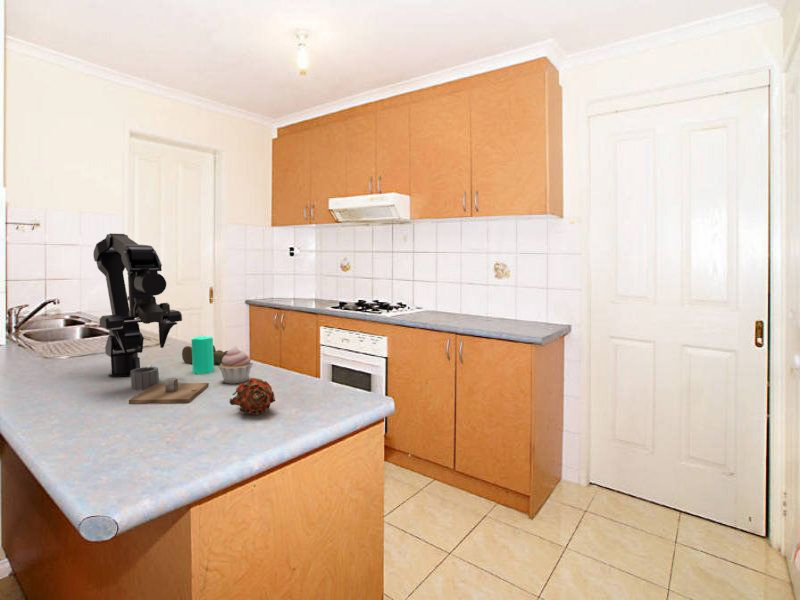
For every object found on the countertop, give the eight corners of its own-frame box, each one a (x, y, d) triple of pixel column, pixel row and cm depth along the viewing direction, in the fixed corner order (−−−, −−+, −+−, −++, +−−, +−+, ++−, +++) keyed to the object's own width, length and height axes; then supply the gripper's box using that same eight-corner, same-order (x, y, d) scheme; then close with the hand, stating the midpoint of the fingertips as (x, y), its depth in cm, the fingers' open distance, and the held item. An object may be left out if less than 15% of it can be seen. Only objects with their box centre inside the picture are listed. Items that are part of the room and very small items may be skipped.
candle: (206, 374, 137) (204, 335, 136) (188, 373, 139) (186, 334, 137) (218, 369, 143) (216, 331, 142) (200, 368, 144) (199, 330, 143)
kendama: (216, 370, 144) (174, 361, 153) (239, 365, 153) (198, 356, 162) (216, 352, 144) (174, 344, 153) (240, 347, 152) (198, 340, 161)
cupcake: (260, 380, 131) (259, 346, 130) (230, 387, 124) (229, 351, 123) (242, 374, 137) (241, 341, 136) (212, 381, 130) (211, 346, 129)
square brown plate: (128, 403, 111) (128, 387, 110) (155, 387, 125) (155, 372, 124) (188, 403, 112) (188, 386, 111) (208, 386, 125) (208, 371, 125)
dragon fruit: (266, 427, 101) (239, 421, 109) (291, 397, 106) (263, 393, 114) (242, 401, 97) (216, 397, 105) (268, 371, 102) (241, 369, 110)
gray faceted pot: (126, 389, 122) (125, 371, 121) (139, 382, 129) (138, 365, 128) (152, 389, 122) (151, 371, 122) (163, 382, 129) (162, 365, 129)
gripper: (112, 297, 110) (115, 361, 112) (189, 292, 124) (192, 349, 126) (97, 294, 118) (100, 354, 119) (172, 290, 132) (174, 343, 133)
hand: (144, 350), depth 124 cm, fingers open, 9 cm apart
